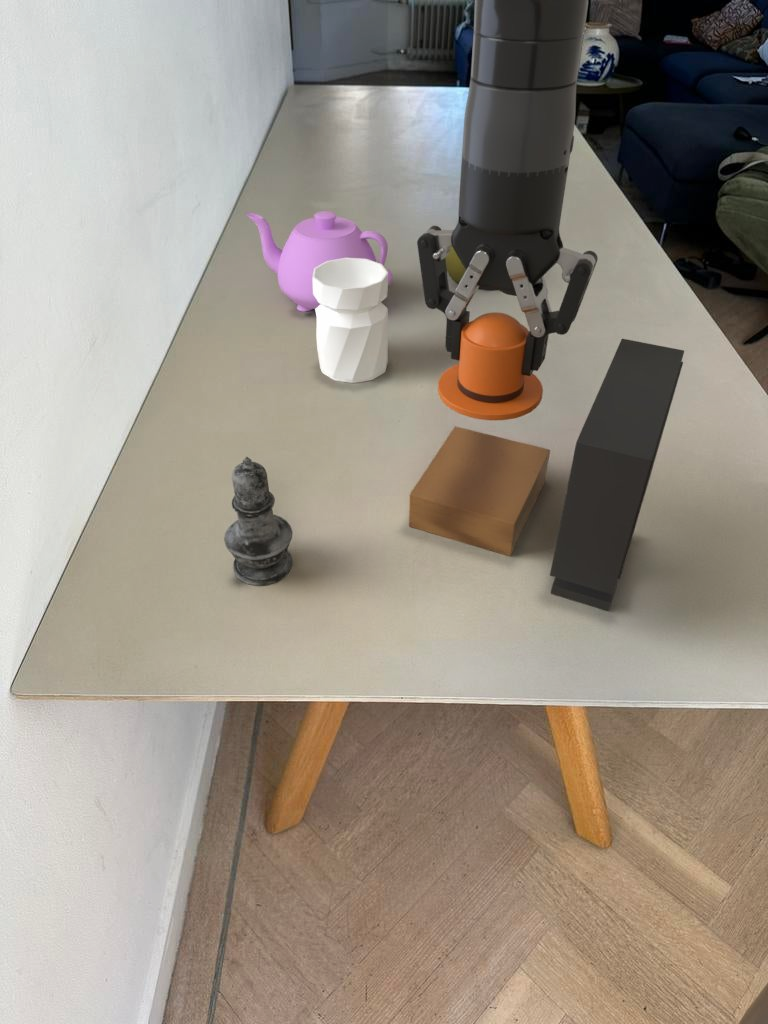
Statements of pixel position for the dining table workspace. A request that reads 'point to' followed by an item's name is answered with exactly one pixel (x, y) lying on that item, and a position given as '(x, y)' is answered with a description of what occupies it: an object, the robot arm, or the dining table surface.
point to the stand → (479, 490)
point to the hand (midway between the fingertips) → (493, 362)
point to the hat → (491, 371)
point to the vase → (351, 319)
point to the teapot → (315, 252)
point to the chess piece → (257, 529)
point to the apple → (454, 266)
